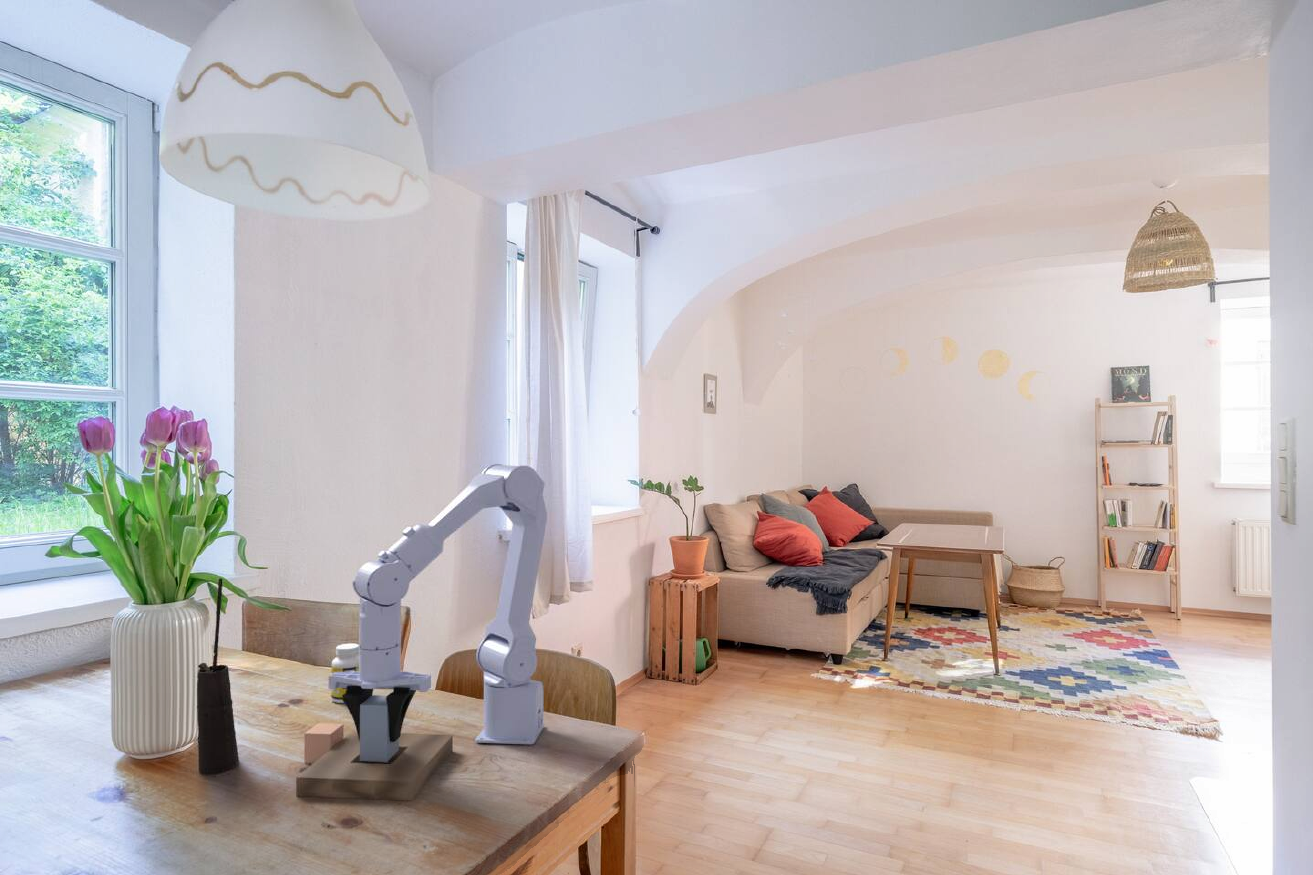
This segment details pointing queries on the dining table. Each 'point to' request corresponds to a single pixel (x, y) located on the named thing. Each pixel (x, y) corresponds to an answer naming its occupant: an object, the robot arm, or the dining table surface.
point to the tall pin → (375, 731)
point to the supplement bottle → (344, 666)
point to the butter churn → (215, 712)
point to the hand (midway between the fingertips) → (379, 738)
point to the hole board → (375, 769)
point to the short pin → (321, 740)
